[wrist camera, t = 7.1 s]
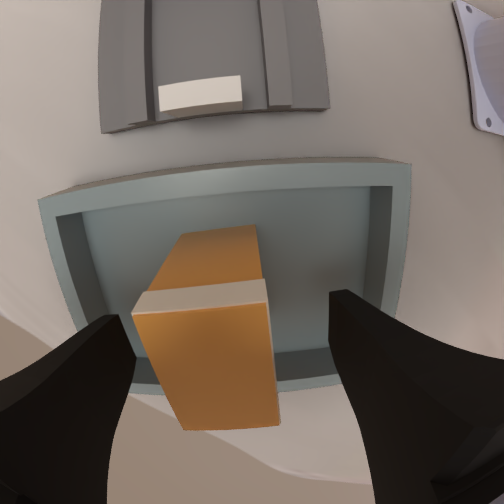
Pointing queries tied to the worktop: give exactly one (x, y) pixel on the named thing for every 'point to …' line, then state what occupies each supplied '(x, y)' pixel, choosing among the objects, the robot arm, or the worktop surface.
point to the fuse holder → (207, 60)
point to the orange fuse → (212, 331)
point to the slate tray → (268, 236)
